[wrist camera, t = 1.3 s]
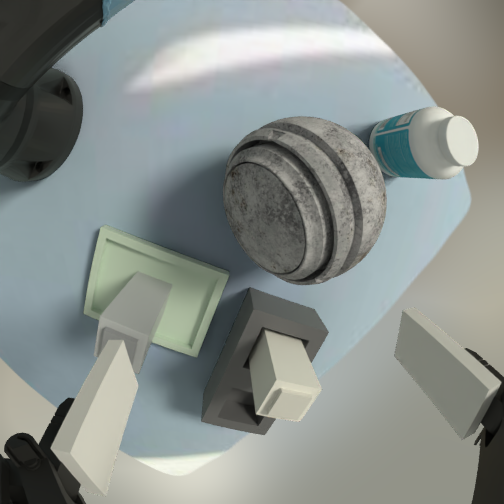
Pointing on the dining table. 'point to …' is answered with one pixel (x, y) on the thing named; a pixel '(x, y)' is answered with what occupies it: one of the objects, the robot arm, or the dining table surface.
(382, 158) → the pill bottle
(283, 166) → the decorative orb
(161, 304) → the plug
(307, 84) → the dining table surface
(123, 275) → the tray
